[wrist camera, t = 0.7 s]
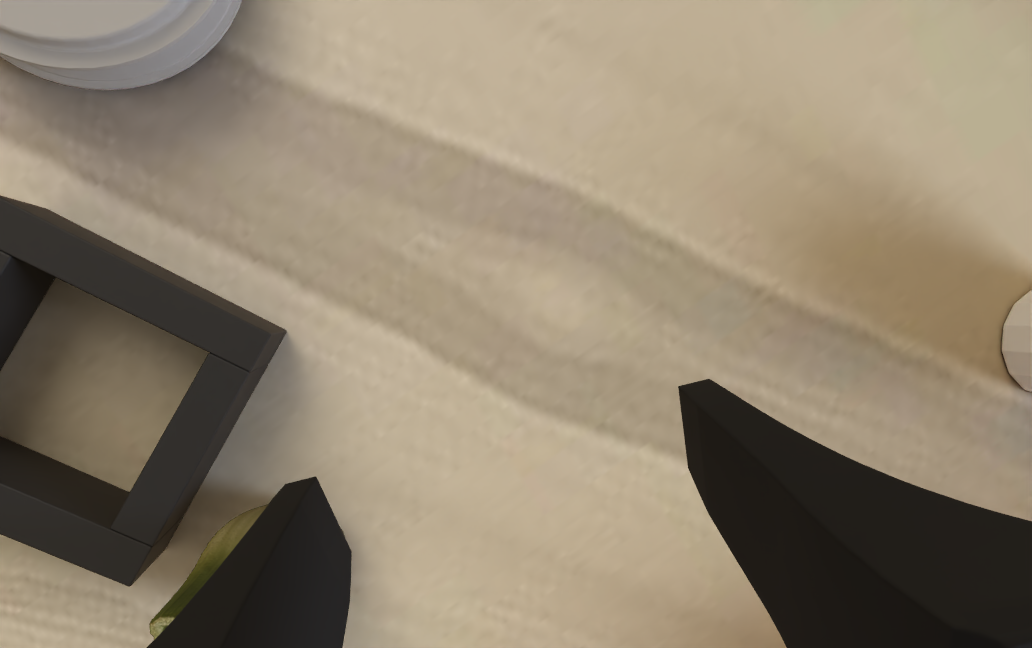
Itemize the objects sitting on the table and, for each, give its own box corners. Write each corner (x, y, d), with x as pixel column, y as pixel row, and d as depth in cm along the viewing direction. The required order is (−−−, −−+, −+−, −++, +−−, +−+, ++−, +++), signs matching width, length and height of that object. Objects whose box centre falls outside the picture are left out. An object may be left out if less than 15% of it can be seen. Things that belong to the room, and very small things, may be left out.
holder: (164, 550, 29) (129, 587, 26) (-94, 441, 27) (-176, 463, 23) (287, 330, 30) (271, 334, 26) (45, 208, 28) (-11, 191, 24)
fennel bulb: (224, 505, 30) (114, 634, 18) (326, 467, 31) (284, 567, 19) (268, 616, 30) (188, 812, 19) (367, 576, 31) (350, 739, 19)
